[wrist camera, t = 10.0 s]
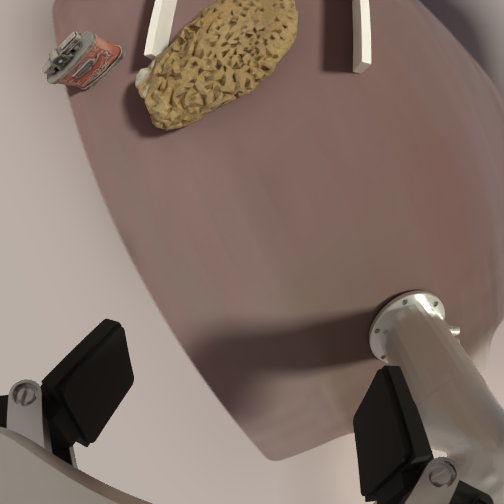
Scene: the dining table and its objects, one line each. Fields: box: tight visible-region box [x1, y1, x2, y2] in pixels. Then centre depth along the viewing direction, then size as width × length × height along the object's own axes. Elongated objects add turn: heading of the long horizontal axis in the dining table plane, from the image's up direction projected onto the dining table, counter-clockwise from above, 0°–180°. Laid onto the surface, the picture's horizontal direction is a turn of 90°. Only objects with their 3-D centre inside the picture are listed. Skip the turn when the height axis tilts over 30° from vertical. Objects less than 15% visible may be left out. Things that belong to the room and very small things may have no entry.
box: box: [144, 0, 371, 74], centre depth 21 cm, size 24×15×4 cm, turn 86°
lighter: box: [41, 31, 125, 90], centre depth 22 cm, size 8×3×10 cm, turn 120°
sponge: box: [135, 0, 299, 131], centre depth 23 cm, size 13×8×20 cm
